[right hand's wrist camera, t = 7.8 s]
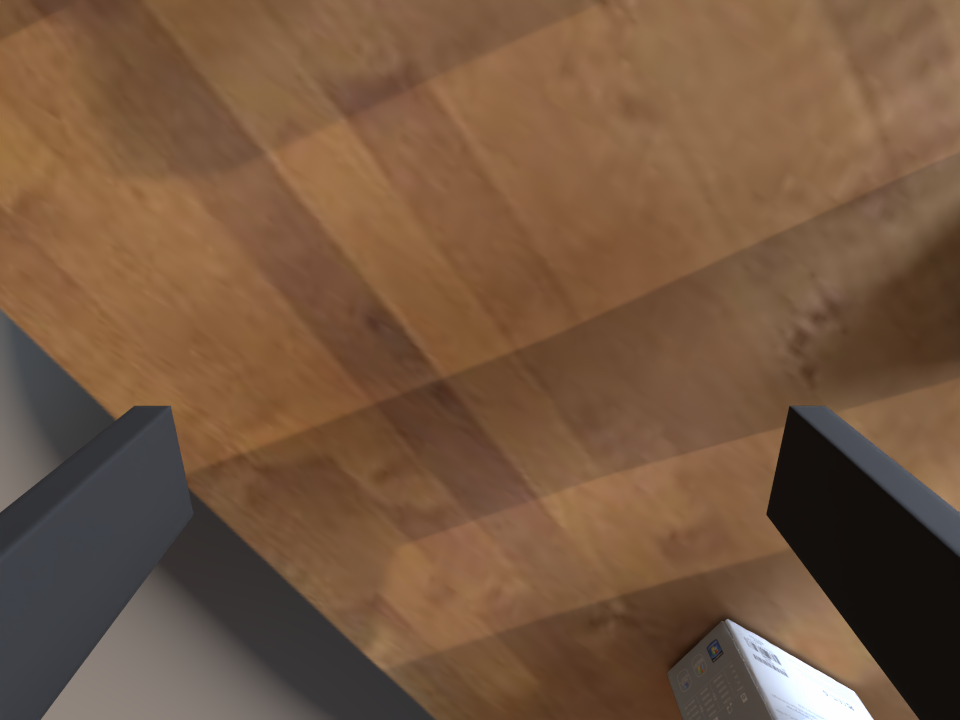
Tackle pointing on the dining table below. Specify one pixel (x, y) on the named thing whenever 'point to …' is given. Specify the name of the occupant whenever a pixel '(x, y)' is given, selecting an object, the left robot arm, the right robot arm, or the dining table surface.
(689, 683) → the hard drive box
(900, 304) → the dining table surface
